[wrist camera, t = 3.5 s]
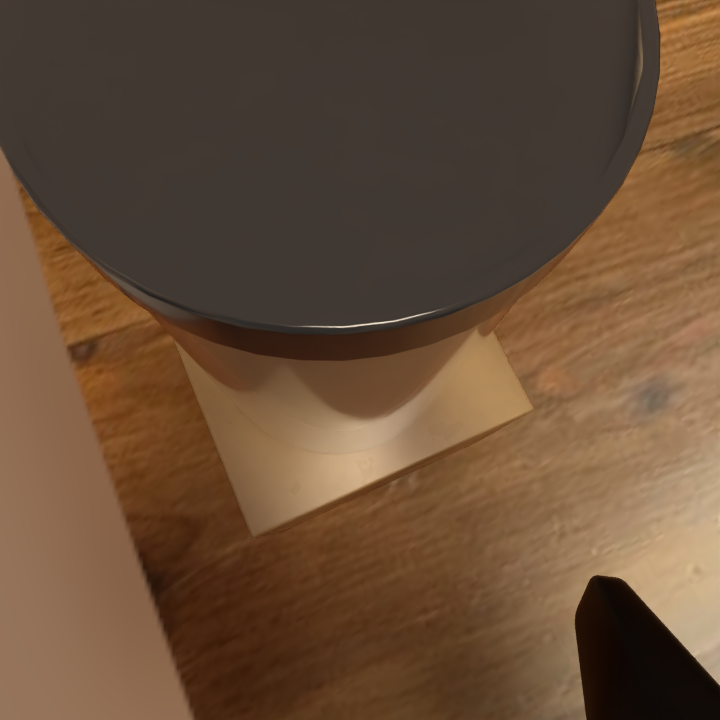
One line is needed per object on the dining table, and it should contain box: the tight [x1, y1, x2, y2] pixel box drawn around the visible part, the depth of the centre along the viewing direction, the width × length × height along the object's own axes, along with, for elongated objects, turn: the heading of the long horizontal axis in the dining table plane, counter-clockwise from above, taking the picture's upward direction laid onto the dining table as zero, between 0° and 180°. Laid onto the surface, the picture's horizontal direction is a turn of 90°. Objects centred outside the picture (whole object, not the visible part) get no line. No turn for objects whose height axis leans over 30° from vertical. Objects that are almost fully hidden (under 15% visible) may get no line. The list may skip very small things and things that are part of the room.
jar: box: [0, 0, 660, 454], centre depth 11 cm, size 7×7×11 cm
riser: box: [174, 331, 533, 538], centre depth 20 cm, size 8×8×7 cm
